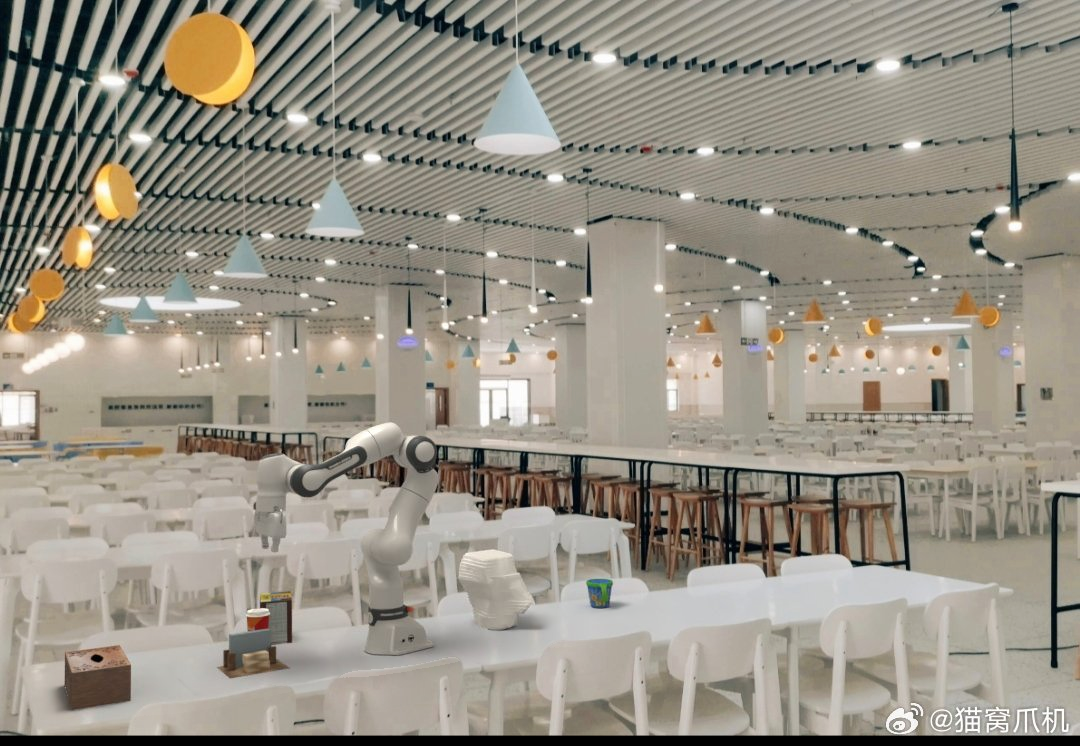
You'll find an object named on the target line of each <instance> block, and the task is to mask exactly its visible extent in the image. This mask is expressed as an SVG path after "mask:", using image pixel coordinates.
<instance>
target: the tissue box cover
mask: <svg viewBox="0 0 1080 746" xmlns="http://www.w3.org/2000/svg"><path fill="white" fill-rule="evenodd" d="M65 687H66V690H65V692H66V691H67V693H66V696H67V695H68V696H67V699H69V700H68V703H69V706H70V710H71V711H76V709H77V710H82V709H89V708H95V707H100V706H107V705H113V704H119V703H125V702H131V701H132V698H131V697H132V664H131V662H130V660H129V659H128V656H127V655H126V654H125V652H124V650H123V649H122V647H121V645H120V644H118V645H110V646H103V647H96V648H87V649H80V650H71V651H65V652H64V688H65Z"/></svg>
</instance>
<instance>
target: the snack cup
mask: <svg viewBox="0 0 1080 746" xmlns="http://www.w3.org/2000/svg"><path fill="white" fill-rule="evenodd" d="M613 581H614V580H612V579H608V578H589V579H587V580H586V581H585V582H586V583H585V584H586V586H587V592H588V599H589V604H590V607H592V608H594V609H595V608H597V609H605V608H608V607H610V604H611V603H610V602H611V594H612V589H613V588H612V587H613V585H614V582H613Z"/></svg>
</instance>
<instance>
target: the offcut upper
mask: <svg viewBox="0 0 1080 746" xmlns="http://www.w3.org/2000/svg"><path fill="white" fill-rule="evenodd" d="M265 661H269V652H267V651H259V652H254V653H248V654H243V655H242V663H243V664H245V665H249V664H254V663H259V662H265Z"/></svg>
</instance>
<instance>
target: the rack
mask: <svg viewBox="0 0 1080 746" xmlns="http://www.w3.org/2000/svg"><path fill="white" fill-rule="evenodd" d="M222 651H223V655H222V657H223V658H222V659H223V660H222V663H223V665H219V666H217V667H216V668H217V669H218V670H220V672H222V673H223V674H224V675H225V676H226V677H228V679H235V678H240V677H248V676H252V675H259V674H265V673H271V672H276V671H282V670H286V669H291V667H290V666H288V665H286V664H285V663H284V662H282V661H281V660H280V659H278V658H277V646H276V645H271V643H270V647H269V661H270V669H268V670H262V671H256V672H250V673H246V672H244V667H241V668H236V653H235V652H234V653H229V648H228V649H223V650H222Z"/></svg>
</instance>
